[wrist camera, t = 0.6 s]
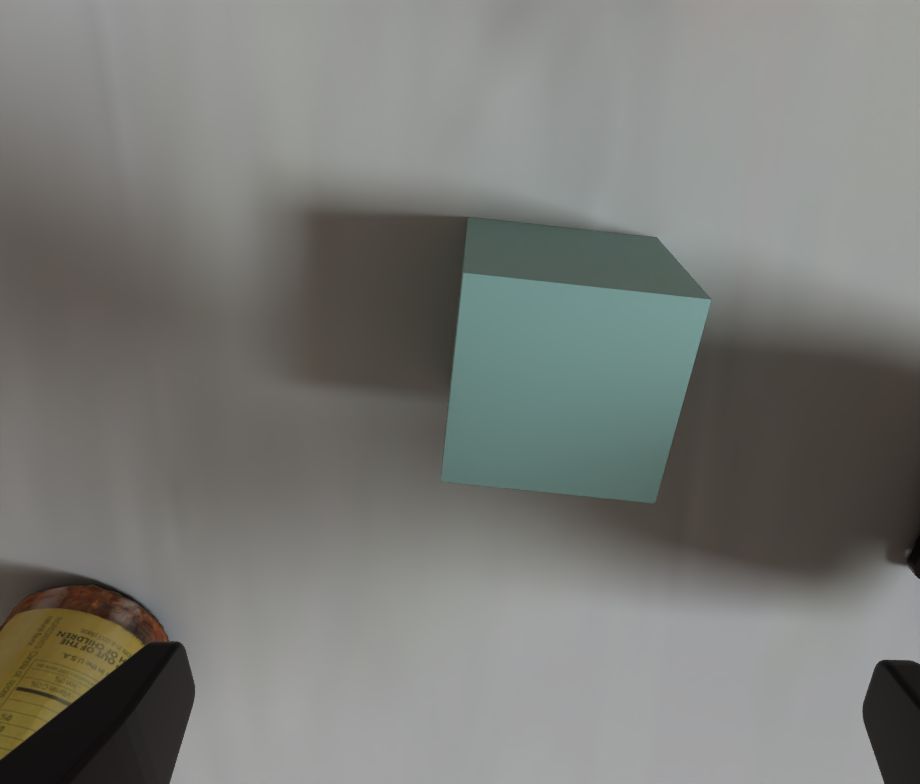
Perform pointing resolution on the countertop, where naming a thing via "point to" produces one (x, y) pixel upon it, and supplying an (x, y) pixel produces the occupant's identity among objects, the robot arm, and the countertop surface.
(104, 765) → the robot arm
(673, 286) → the block
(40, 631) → the sauce bottle
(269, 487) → the countertop surface
